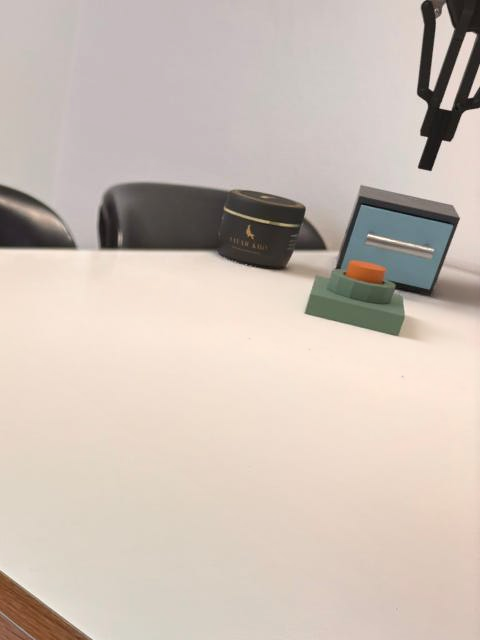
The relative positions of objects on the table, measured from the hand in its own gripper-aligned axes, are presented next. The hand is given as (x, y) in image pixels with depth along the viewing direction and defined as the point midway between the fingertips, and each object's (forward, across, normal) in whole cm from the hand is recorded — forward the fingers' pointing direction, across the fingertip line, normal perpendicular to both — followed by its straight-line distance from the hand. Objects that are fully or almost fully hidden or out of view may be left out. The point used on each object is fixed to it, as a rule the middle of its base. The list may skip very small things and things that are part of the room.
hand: (424, 168), depth 128 cm
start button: (+11, -4, -20) cm, 23 cm away
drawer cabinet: (+14, 0, +12) cm, 18 cm away
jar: (+15, -17, -1) cm, 22 cm away
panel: (+14, -4, -20) cm, 25 cm away
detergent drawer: (+14, 0, +6) cm, 15 cm away
